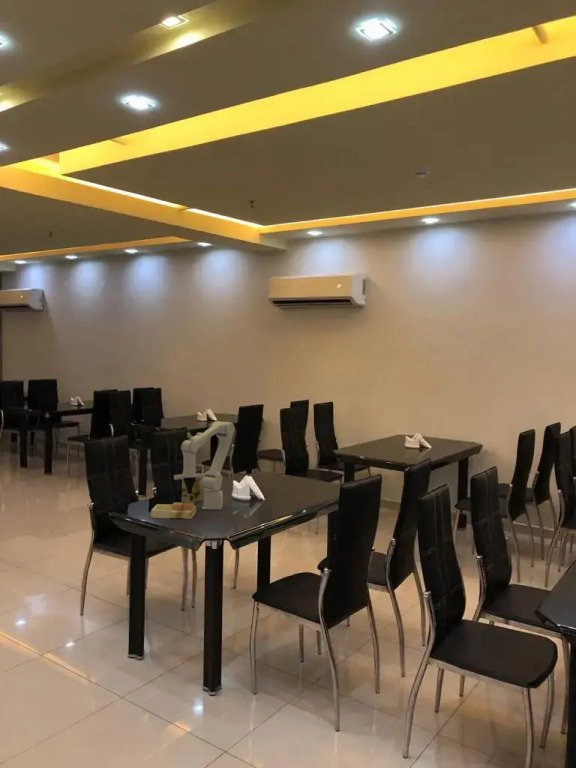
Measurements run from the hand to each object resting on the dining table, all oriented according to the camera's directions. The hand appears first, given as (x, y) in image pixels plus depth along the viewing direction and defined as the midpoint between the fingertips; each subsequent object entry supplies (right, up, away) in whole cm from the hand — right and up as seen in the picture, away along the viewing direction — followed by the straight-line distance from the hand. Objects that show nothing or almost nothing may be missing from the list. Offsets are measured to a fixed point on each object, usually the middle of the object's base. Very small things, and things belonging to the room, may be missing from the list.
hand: (189, 493), depth 298 cm
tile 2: (0, -7, -3) cm, 7 cm away
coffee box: (-3, -9, +27) cm, 28 cm away
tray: (-12, -10, -3) cm, 16 cm away
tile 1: (-5, -7, -3) cm, 9 cm away
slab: (-2, -10, -3) cm, 11 cm away
